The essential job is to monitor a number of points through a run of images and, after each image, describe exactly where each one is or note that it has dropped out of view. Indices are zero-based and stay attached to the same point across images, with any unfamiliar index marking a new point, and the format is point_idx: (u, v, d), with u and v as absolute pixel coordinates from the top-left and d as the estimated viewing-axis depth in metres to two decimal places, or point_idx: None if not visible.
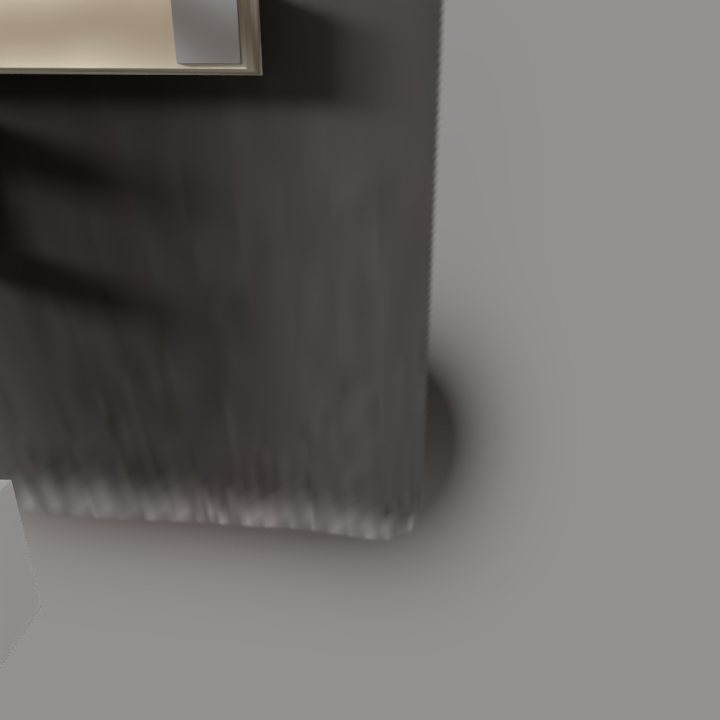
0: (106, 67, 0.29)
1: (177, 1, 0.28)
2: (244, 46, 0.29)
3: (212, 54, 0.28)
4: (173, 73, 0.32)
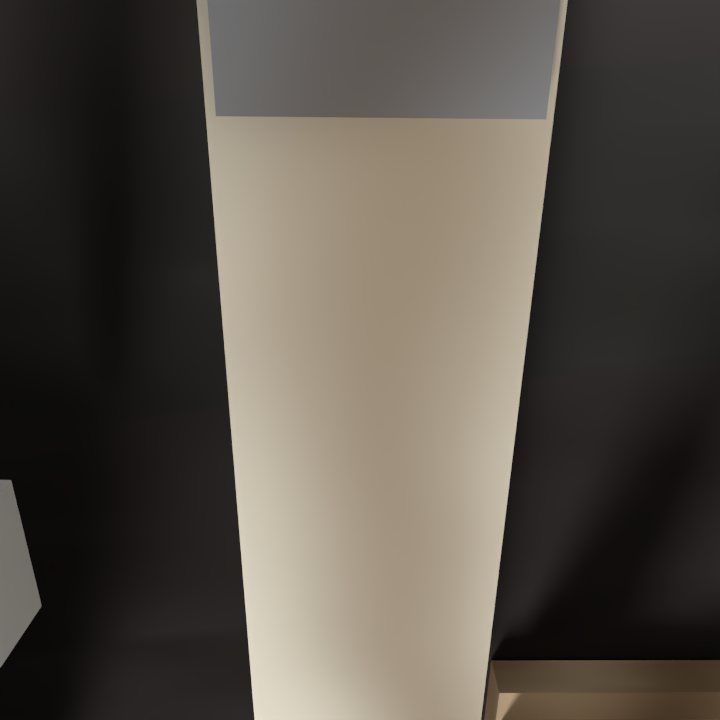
0: (515, 393, 0.08)
1: (313, 86, 0.06)
2: None
3: None
4: None
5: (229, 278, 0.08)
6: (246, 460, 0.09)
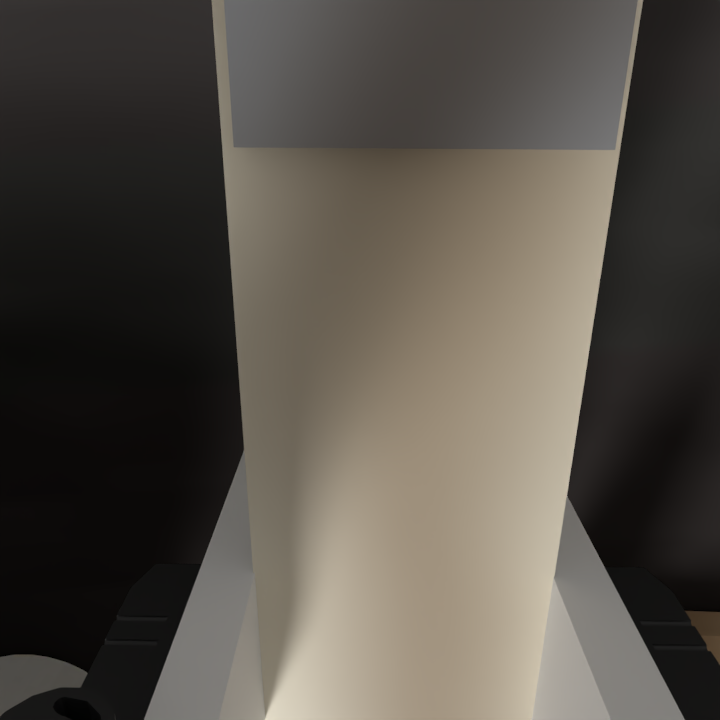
0: (567, 452, 0.07)
1: (346, 113, 0.06)
2: None
3: None
4: None
5: (247, 325, 0.07)
6: (263, 523, 0.08)
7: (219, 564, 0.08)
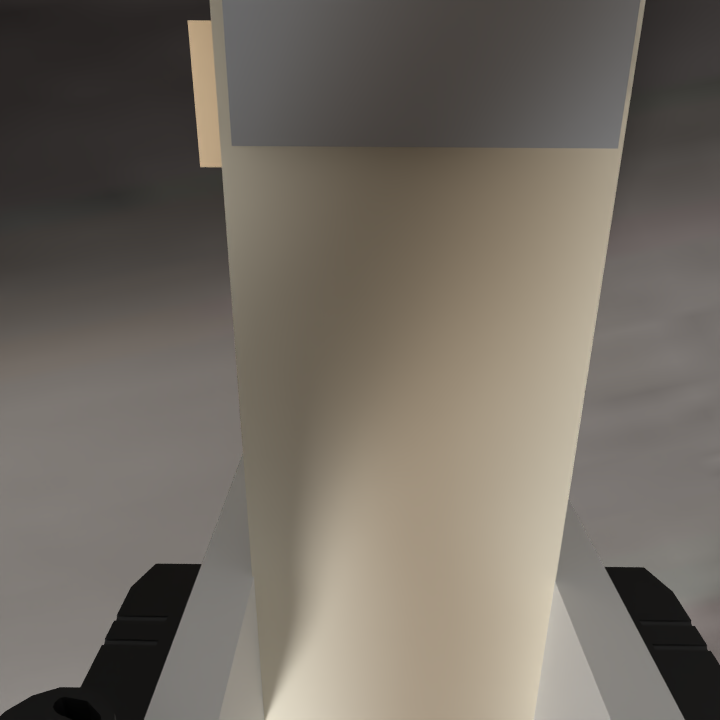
0: (568, 454, 0.07)
1: (345, 111, 0.06)
2: None
3: None
4: None
5: (245, 326, 0.07)
6: (262, 526, 0.08)
7: (219, 564, 0.08)
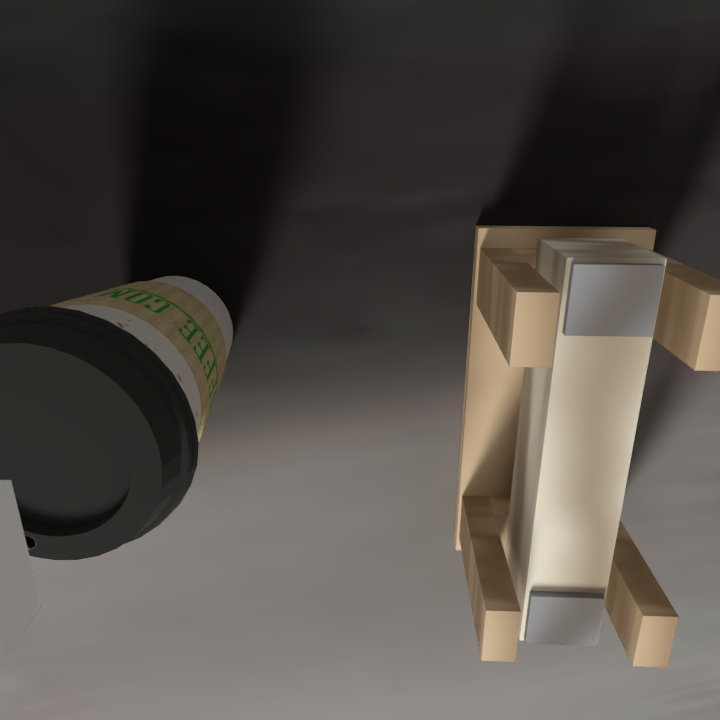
0: (637, 409, 0.27)
1: (591, 329, 0.25)
2: (642, 259, 0.25)
3: (650, 296, 0.25)
4: None
5: (555, 374, 0.26)
6: (549, 429, 0.27)
7: None
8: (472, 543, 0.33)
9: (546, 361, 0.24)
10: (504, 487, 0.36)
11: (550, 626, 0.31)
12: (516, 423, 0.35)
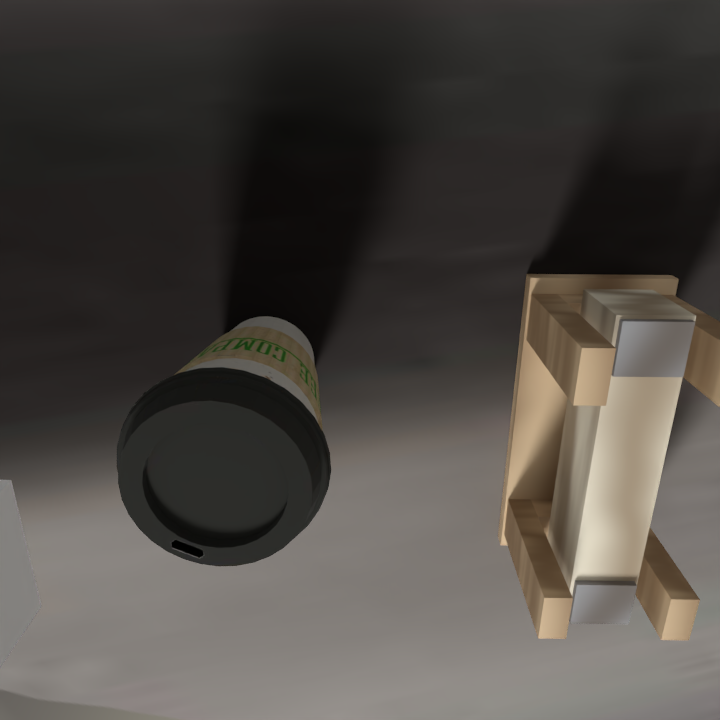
0: (668, 433, 0.33)
1: (634, 371, 0.31)
2: (676, 316, 0.31)
3: (682, 346, 0.31)
4: None
5: (603, 406, 0.32)
6: (597, 450, 0.33)
7: None
8: (523, 541, 0.39)
9: (602, 400, 0.30)
10: (544, 492, 0.43)
11: (591, 608, 0.37)
12: (556, 438, 0.41)
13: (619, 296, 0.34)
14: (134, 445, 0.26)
